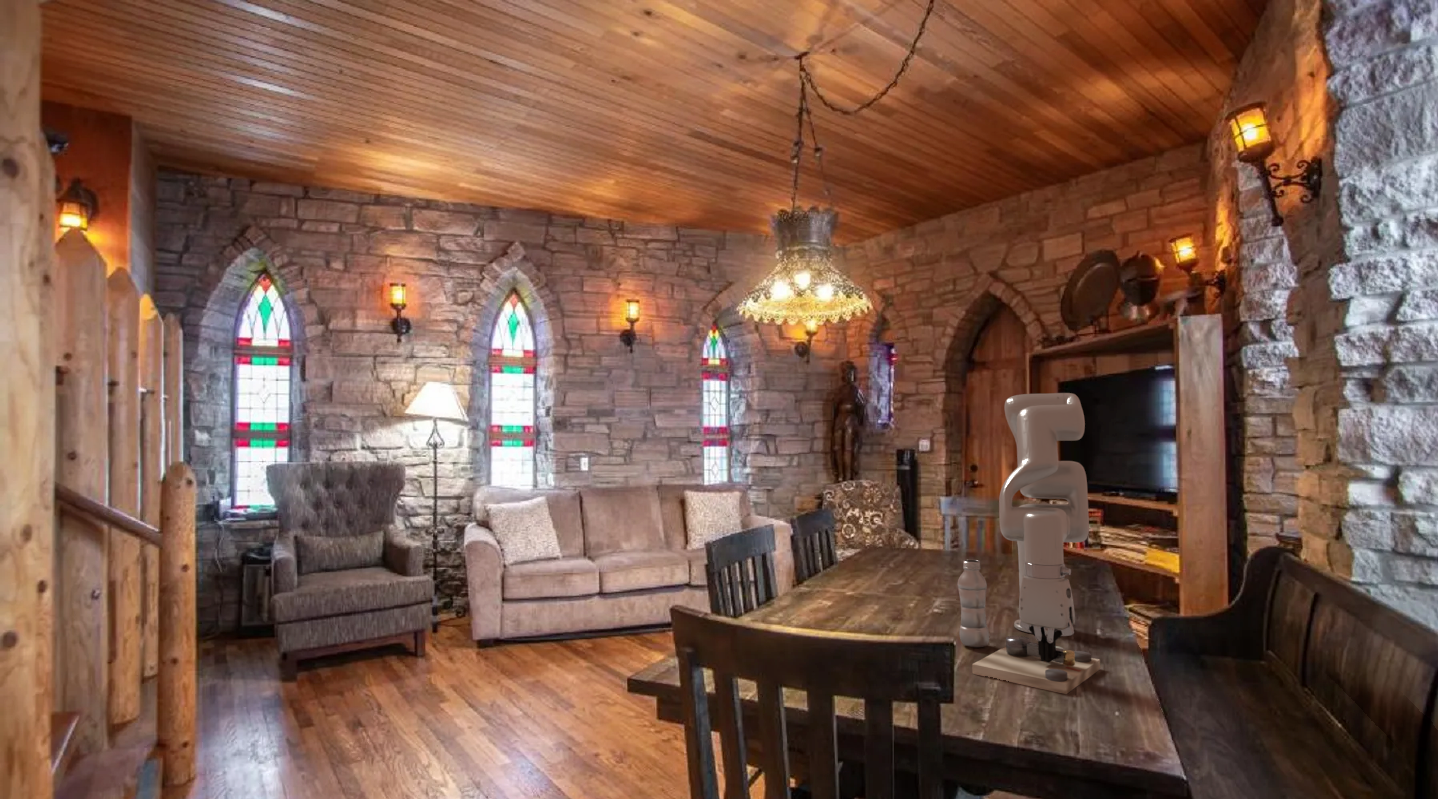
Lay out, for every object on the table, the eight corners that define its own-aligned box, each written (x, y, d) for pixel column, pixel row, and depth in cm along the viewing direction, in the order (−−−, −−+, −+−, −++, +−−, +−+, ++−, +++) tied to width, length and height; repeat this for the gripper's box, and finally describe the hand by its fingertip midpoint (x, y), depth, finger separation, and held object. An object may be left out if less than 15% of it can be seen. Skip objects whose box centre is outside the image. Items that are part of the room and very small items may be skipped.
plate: (1011, 652, 175) (1011, 637, 175) (1100, 669, 162) (1099, 653, 162) (972, 673, 161) (972, 657, 161) (1066, 694, 148) (1065, 676, 148)
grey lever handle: (1001, 652, 168) (1001, 638, 168) (1014, 647, 171) (1014, 634, 171) (1067, 668, 155) (1067, 654, 156) (1080, 664, 158) (1080, 649, 159)
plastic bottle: (991, 650, 176) (988, 563, 177) (960, 649, 178) (958, 563, 179) (987, 643, 183) (984, 558, 183) (958, 642, 184) (955, 558, 185)
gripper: (1088, 572, 157) (1091, 663, 157) (1016, 565, 168) (1019, 649, 167) (1074, 578, 152) (1078, 671, 151) (1001, 569, 162) (1004, 657, 162)
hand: (1047, 660), depth 159 cm, fingers closed
